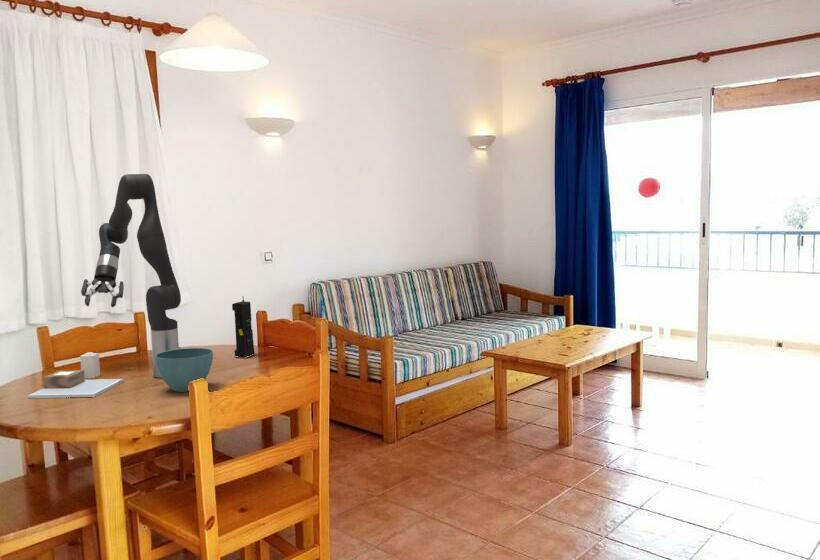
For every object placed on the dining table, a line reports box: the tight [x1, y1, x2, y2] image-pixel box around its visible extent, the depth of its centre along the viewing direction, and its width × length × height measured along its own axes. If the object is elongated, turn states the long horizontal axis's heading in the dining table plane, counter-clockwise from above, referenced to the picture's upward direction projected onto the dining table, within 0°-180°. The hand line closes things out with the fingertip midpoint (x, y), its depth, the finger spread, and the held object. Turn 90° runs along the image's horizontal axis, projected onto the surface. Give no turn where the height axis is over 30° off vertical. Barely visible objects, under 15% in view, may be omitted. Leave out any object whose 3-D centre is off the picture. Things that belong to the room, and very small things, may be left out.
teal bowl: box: [155, 347, 214, 393], centre depth 214 cm, size 18×18×12 cm
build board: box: [26, 369, 124, 399], centre depth 216 cm, size 22×20×5 cm
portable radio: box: [231, 296, 255, 357], centre depth 263 cm, size 8×6×25 cm
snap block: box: [79, 351, 101, 379], centre depth 234 cm, size 4×4×9 cm
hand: (99, 305), depth 239 cm, fingers open, 8 cm apart
